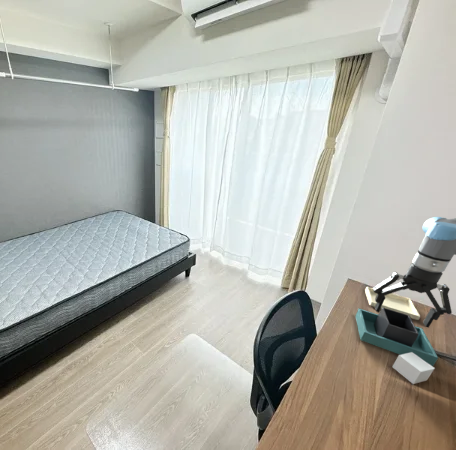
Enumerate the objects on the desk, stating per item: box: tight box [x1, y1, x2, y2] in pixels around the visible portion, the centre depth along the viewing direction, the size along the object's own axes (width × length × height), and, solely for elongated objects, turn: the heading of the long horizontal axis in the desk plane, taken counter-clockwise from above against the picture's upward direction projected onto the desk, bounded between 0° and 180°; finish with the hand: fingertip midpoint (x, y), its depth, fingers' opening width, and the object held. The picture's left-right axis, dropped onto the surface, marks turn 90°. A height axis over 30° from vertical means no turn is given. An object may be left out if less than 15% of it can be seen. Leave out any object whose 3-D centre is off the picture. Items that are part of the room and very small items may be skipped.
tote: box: [355, 308, 439, 367], centre depth 92 cm, size 20×16×5 cm
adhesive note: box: [392, 352, 436, 386], centre depth 78 cm, size 6×6×6 cm
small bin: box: [374, 307, 419, 347], centre depth 91 cm, size 8×11×9 cm
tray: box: [364, 286, 421, 321], centre depth 112 cm, size 16×14×2 cm
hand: (400, 317), depth 89 cm, fingers open, 13 cm apart
